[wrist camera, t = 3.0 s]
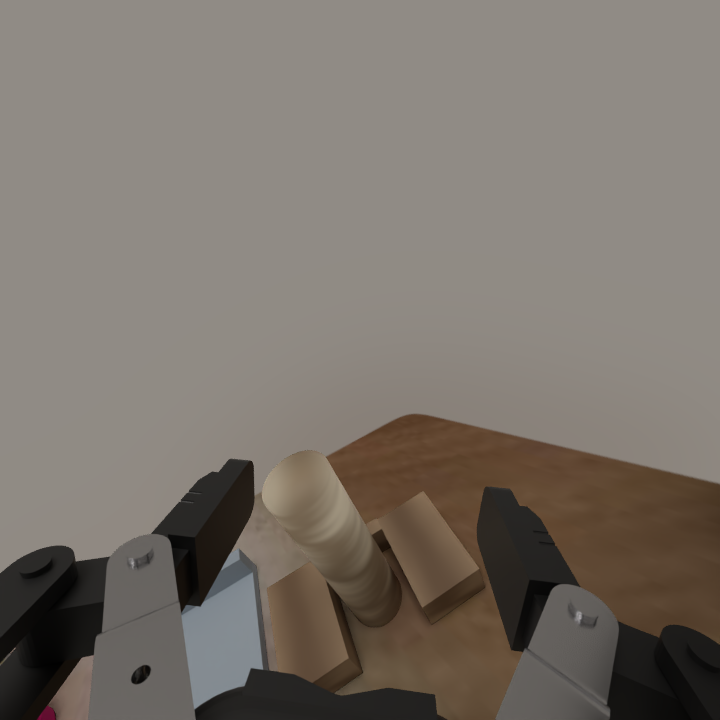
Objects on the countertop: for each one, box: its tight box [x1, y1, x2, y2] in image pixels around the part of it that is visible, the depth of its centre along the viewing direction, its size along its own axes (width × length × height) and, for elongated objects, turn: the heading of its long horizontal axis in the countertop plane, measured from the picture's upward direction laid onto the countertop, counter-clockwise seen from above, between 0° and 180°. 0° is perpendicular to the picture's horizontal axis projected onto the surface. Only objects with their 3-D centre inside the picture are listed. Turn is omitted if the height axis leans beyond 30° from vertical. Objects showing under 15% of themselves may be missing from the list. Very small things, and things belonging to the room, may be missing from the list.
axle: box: [262, 450, 402, 627], centre depth 25 cm, size 4×4×16 cm
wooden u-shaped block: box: [267, 491, 485, 693], centre depth 28 cm, size 16×8×3 cm, turn 113°
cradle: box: [181, 549, 269, 709], centre depth 28 cm, size 10×12×4 cm
